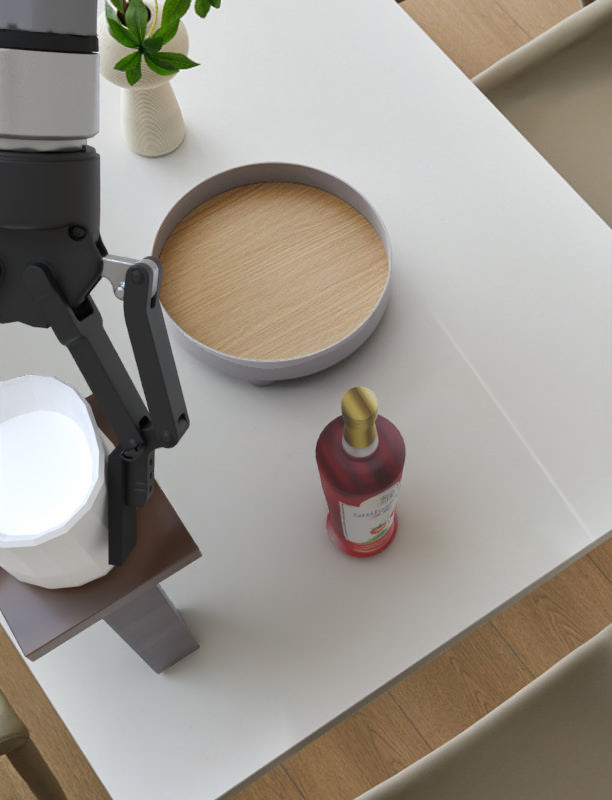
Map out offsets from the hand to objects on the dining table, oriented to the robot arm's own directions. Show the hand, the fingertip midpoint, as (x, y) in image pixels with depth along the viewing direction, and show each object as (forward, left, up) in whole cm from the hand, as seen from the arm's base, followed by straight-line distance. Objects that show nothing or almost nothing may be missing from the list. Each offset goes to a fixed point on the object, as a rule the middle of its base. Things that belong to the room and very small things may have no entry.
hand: (32, 543), depth 57 cm
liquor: (-1, +23, -39) cm, 45 cm away
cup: (-2, +2, -4) cm, 5 cm away
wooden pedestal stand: (-2, +2, -39) cm, 39 cm away
